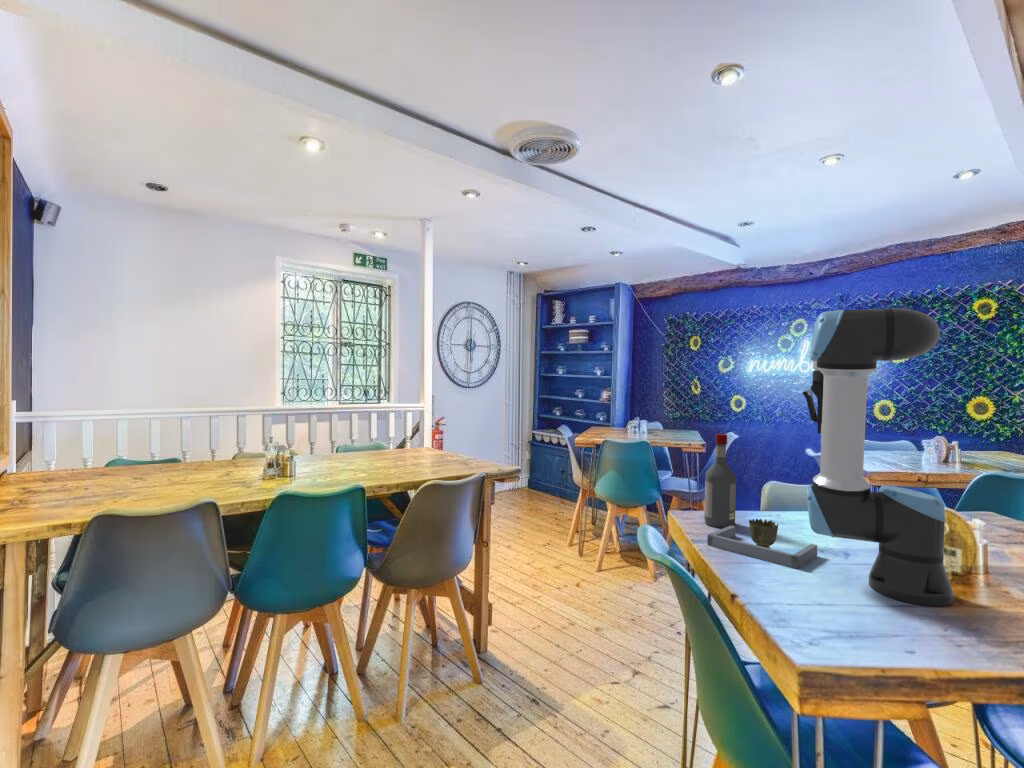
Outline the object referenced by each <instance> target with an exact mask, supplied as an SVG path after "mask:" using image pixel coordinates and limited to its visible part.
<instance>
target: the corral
mask: <svg viewBox="0 0 1024 768" xmlns="http://www.w3.org/2000/svg"><path fill="white" fill-rule="evenodd" d="M736 533H737V532H736V525H735V526H728V527H726V528H721V529H718V530H716V531H713V532H711V533H708V534H707V542H706V543H707V544H706V545H707V546H710V547H714V548H718V549H721V550H725V551H727V552H728V551H729V552H733V553H736V554H739V555H744V556H748V557H751V558H755V559H757V560H759V559H760V560H763V561H765V562H766V561H767V562H770V563H774V564H778V565H781V566H785V567H789V568H793V569H797V570H798V569H799V568H800V569H801V568H802V567H803V566H805V565H806V564H807V563H808V562H811V561H812V560H814V559H815V558H817V556H818V544H814V543H810V544H809V545H807V546H806V547H803V548H802V549H800V550H798V551H797V552H795V553H794V554H793V553H791V552H790V553H789V552H786V551H782V550H778V549H773V548H771V547H770V548H766V547H762V546H758V545H756V544H753V543H749V542H746V541H741V540H736V539H733V538H734V537H736Z"/></svg>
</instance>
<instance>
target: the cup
mask: <svg viewBox="0 0 1024 768" xmlns="http://www.w3.org/2000/svg"><path fill="white" fill-rule="evenodd" d="M748 525H749V533H750V538H751V540H752V542H753V543H755V545H758V546H762V547H766V548H770V549H771V547H770V546H772V545H774V544H775V542H776V540H777V536H778V529H779V523H777V524H776V522H775V521H773V520H771V519H769V520H768V521H767V519H765V520H764V521H763V520H762V518H759V519H758V518H756V519H754V518H752V519H750V518H749V519H748Z"/></svg>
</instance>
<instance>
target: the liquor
mask: <svg viewBox="0 0 1024 768" xmlns="http://www.w3.org/2000/svg"><path fill="white" fill-rule="evenodd" d="M714 439H715V440H714V443H715V460H714V463H712V465H711V466H710V467H709V468H708V469H707V470H706V472H705V477H704V480H705V481H704V482H705V483H704V516H703V518H704V522H705V524H706V526H709V527H712V528H721V529H723V528H726V527H728V526H735V527H736V501H737V500H736V496H737V495H736V490H737V489H736V487H737V485H736V484H737V479H736V475H735V473H734V471H732V469H731V468H730V466H729V464H727V445H728V434H727V433H726V434H724V433H715V438H714Z"/></svg>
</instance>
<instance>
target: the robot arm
mask: <svg viewBox="0 0 1024 768" xmlns="http://www.w3.org/2000/svg"><path fill="white" fill-rule="evenodd" d="M940 334H941V331H940V327H939V325H938V322H936V320H935V319H934V318H932V316H930V315H928V314H926V313H924V312H920V311H917V310H914V309H908V308H898V307H897V308H896V307H895V308H894V307H892V308H872V309H871V308H867V309H838V310H830V311H823V312H822V313H821V312H820V314H819V315H818V316H817V319H816V321H815V323H814V324H813V332H812V337H811V344H810V352H809V360H810V361H812V369H814V370H813V371H812V381H811V382H812V384H811V385H810V388H809V389H808V390H804V391H803V392H802V395H803V396H804V397H805V400H806V404H807V408H808V412H809V417H810V421H812V422H815V423H816V424H817V434H820V463H819V465H820V468H819V473H817V474H816V475H814V476H813V478H812V484H808V485H805V497H806V503H807V513H808V514H807V515H808V520H809V527H810V529H811V530H812V532H814V533H815V534H817V535H821V536H822V535H823V536H828V537H831V538H837V539H838V538H840V539H847V540H853V541H854V540H855V541H863V542H869V543H870V542H871V543H876V544H877V543H878V554H877V556H876V557H875V560H874V562H873V565H872V566H871V570H870V572H869V574H868V586H869V587H870V588H871V589H873V590H874V591H876V592H878V593H879V594H881V595H884V596H887V597H889V598H892V599H895V600H898V601H901V602H905V603H910V604H915V605H920V606H927V607H947V606H950V605H952V604H953V602H954V590H953V587H952V586H951V585H952V584H951V582H950V580H949V577H948V574H947V570H946V568H945V566H944V565H945V564H944V555H945V554H944V551H945V525H946V524H945V523H946V520H947V518H946V513H945V512H946V511H945V505H944V503H943V501H942V500H941V499H939V498H938V497H936V496H934V495H931V494H928V493H925V492H921V491H918V490H914V489H909V488H905V487H899V486H892V485H882V486H881V487H880V488H879V489H878V491H872V490H871V484H870V483H869V482H868V481H867V480H866V479H865V478H864V462H865V437H866V422H867V421H866V418H867V415H866V414H867V399H868V398H867V396H868V378H869V376H870V375H871V374H872V373H874V372H876V370H877V363H878V361H881V362H882V361H883V362H884V361H885V362H886V361H887V362H889V361H903V360H908V359H911V358H915V357H919V356H922V355H925V354H926V353H928V352H929V351H931V350H932V349H933V348H934V347H935V346H936V345H937V344H938V341H939V339H940ZM813 395H814V396H815V397H816V398H817V399H816V401H817V409H816V406H815V402H814V398H813ZM816 410H817V411H816Z"/></svg>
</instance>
